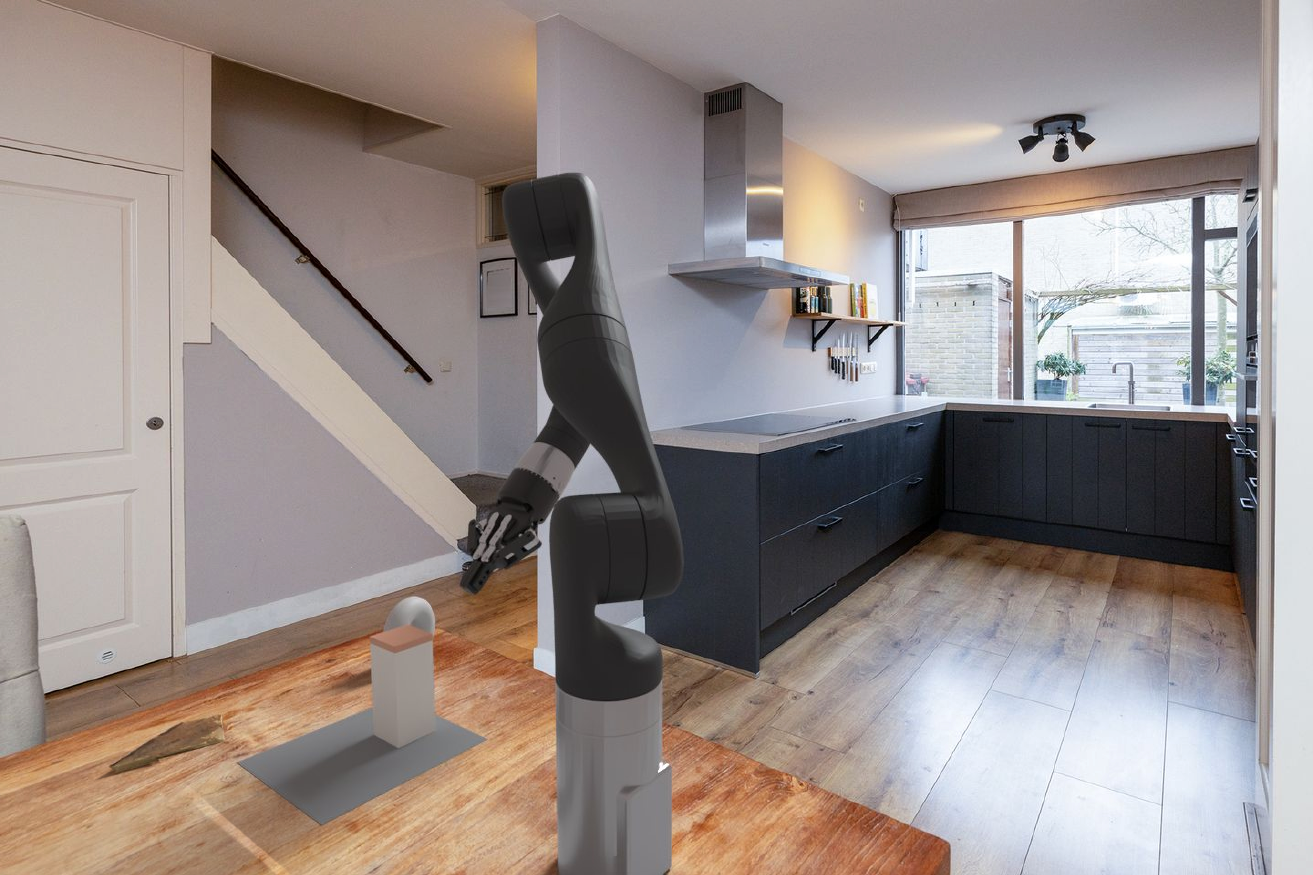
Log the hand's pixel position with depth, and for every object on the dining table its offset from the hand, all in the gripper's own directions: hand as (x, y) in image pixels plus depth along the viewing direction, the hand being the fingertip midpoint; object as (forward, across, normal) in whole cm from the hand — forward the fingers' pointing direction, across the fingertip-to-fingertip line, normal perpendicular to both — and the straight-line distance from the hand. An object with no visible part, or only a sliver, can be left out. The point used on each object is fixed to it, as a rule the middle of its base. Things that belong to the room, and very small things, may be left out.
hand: (467, 590), depth 93 cm
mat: (+21, 0, 0) cm, 21 cm away
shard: (+30, -18, -7) cm, 36 cm away
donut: (+9, -18, +14) cm, 24 cm away
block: (+17, 0, +4) cm, 18 cm away
